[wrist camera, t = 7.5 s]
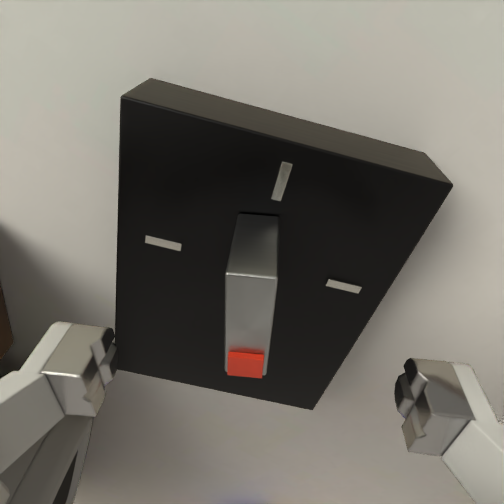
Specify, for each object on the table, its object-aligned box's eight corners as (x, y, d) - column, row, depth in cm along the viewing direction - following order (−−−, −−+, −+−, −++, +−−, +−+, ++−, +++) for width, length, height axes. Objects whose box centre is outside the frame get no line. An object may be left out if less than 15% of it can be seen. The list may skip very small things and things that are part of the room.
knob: (238, 212, 13) (223, 278, 10) (279, 215, 13) (278, 283, 10) (235, 303, 16) (222, 378, 13) (269, 306, 16) (265, 382, 12)
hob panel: (149, 77, 13) (117, 96, 11) (426, 152, 14) (457, 187, 12) (133, 326, 21) (112, 371, 19) (310, 365, 22) (313, 413, 20)
